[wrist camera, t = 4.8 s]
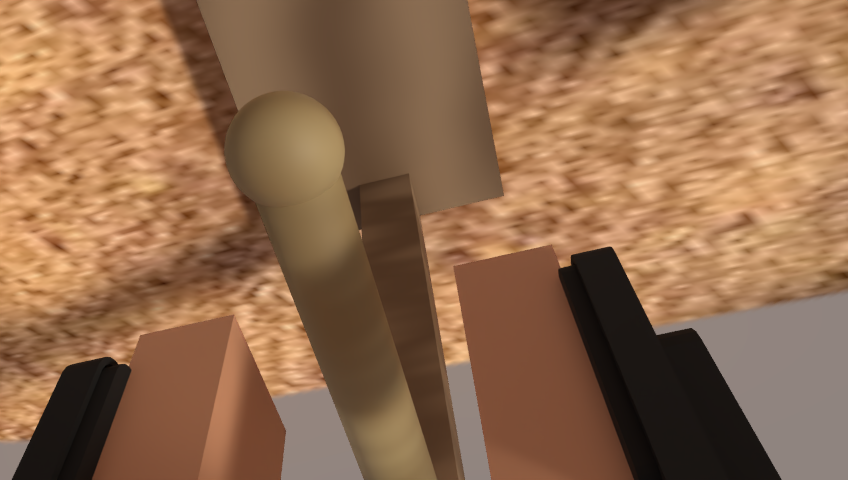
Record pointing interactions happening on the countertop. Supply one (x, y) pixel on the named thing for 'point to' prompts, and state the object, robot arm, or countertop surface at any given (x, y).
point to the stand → (362, 194)
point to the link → (491, 366)
